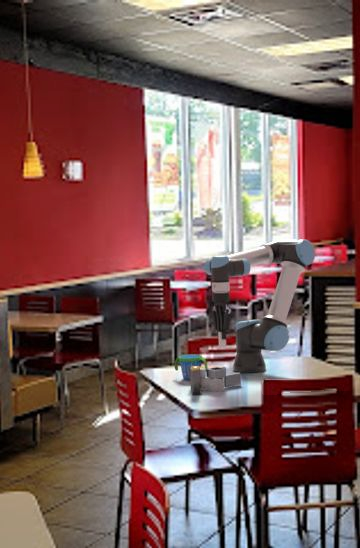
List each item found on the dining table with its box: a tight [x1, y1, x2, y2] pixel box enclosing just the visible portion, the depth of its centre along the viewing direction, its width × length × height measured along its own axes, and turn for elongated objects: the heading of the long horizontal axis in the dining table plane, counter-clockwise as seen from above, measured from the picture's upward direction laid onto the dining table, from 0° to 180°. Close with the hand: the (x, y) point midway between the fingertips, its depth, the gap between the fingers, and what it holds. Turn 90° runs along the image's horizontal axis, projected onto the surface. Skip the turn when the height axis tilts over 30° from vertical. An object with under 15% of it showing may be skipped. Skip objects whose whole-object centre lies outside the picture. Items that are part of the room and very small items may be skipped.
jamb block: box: [190, 366, 205, 391], centre depth 347 cm, size 5×6×9 cm
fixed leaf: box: [200, 369, 225, 392], centre depth 344 cm, size 6×13×9 cm, turn 86°
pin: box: [191, 366, 202, 396], centre depth 336 cm, size 4×4×11 cm
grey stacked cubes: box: [206, 366, 242, 388], centre depth 346 cm, size 16×6×8 cm, turn 126°
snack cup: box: [174, 353, 208, 381], centre depth 368 cm, size 16×10×10 cm
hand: (222, 346), depth 354 cm, fingers closed
